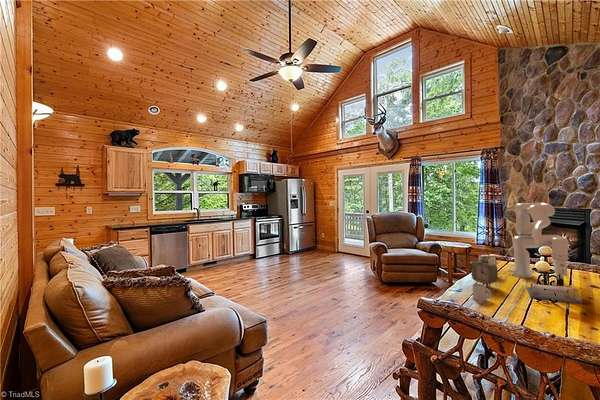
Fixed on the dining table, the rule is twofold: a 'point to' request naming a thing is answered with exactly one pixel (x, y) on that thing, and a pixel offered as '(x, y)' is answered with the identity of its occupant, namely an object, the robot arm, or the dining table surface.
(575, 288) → the hold down bar
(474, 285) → the grey rounded lump
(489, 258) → the candy bar box
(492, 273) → the tabletop clock
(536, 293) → the clamp plate
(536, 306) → the dining table surface
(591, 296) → the dining table surface
